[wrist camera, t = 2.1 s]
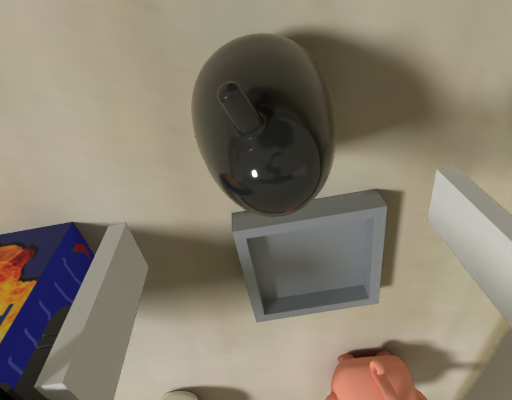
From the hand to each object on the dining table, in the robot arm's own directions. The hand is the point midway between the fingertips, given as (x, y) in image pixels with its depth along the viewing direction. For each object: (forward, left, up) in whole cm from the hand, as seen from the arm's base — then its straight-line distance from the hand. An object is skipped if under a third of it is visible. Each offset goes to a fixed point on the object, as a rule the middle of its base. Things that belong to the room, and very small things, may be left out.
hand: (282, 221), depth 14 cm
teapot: (+49, +10, -17) cm, 53 cm away
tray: (+20, +3, -17) cm, 26 cm away
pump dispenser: (0, 0, -17) cm, 17 cm away
